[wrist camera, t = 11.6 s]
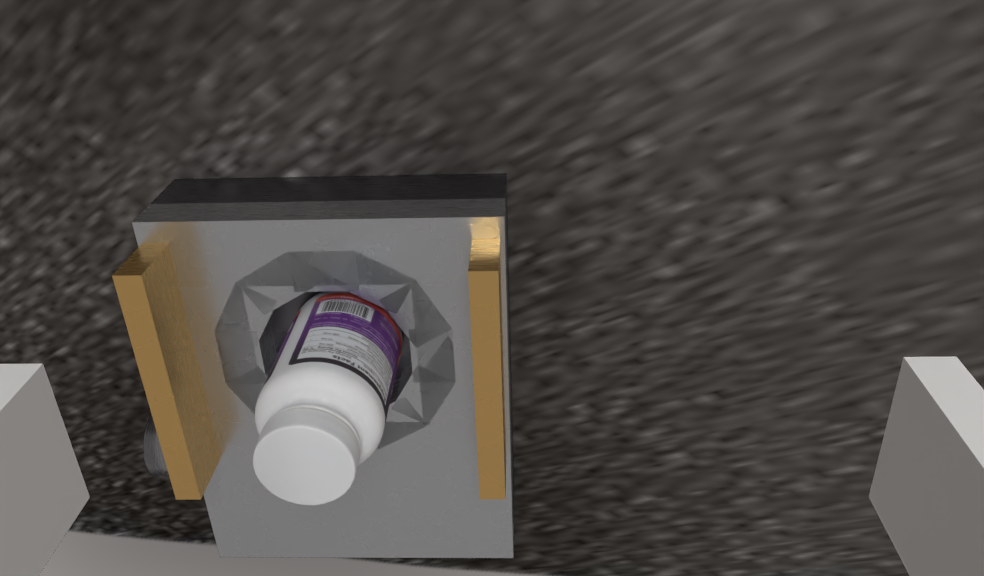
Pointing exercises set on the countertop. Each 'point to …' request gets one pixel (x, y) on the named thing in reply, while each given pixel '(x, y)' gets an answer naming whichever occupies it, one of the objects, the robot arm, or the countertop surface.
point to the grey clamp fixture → (265, 323)
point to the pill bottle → (326, 398)
